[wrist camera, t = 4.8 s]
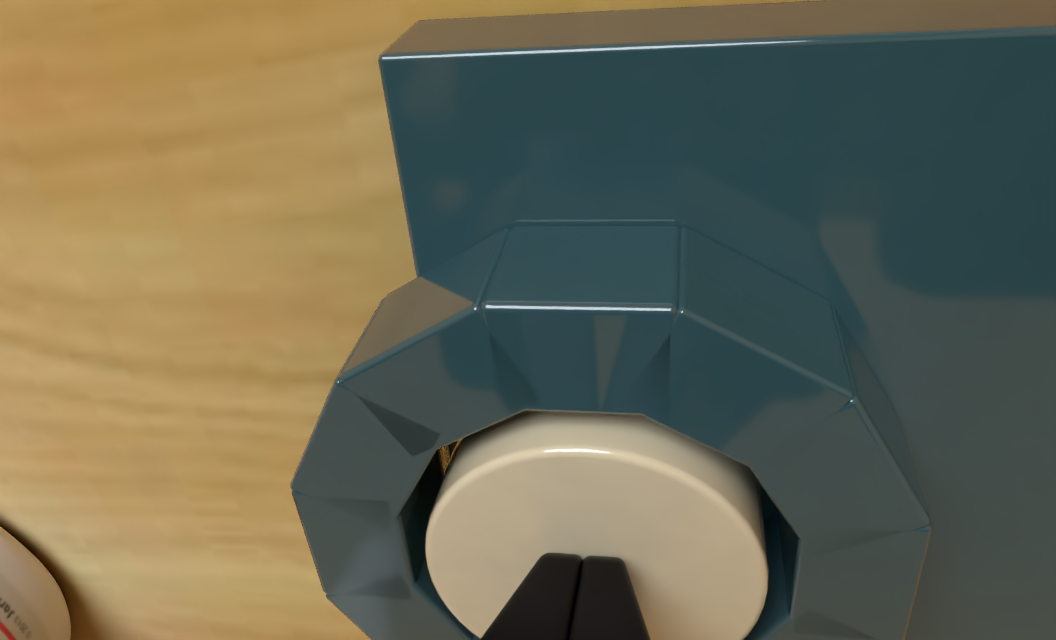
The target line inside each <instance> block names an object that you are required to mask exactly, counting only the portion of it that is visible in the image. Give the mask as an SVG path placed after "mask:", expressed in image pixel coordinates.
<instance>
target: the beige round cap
mask: <svg viewBox="0 0 1056 640" xmlns="http://www.w3.org/2000/svg"><path fill="white" fill-rule="evenodd" d="M550 552H551V553H564V554H576V555H579V556H580V557H581V558H582V559H583V560H584V559H585V557H587V556H591V555H592V556H606V557H618V558H621V559H622V560H623V561H624V563H625V565H626V567H627V570H628V573H629V576H630V579H631V582H632V585H633V588H634V591H635V594H636V597H637V600H638V603H639V606H640V609H641V612H642V615H643V618H644V621H645V624H646V627H647V630H648V633H649V636H650V639H651V640H744V638H745V637H746V636H747V635H748V634H749V633H750V631H751V630H752V628H753V627H754V625H755V624H756V622H757V621H758V619H759V617H760V614H761V612H762V610H763V607H764V605H765V603H766V598H767V593H768V588H769V568H768V557H767V547H766V536H765V526H764V515H763V505H762V494H761V484H760V483H759V481H758V480H757V478H756V477H755V475H754V474H753V472H752V471H751V470H750V468H749V467H748V466H746V465H744V464H742V463H739V462H737V461H735V460H733V459H731V458H729V457H727V456H725V455H723V454H721V453H719V452H717V451H715V450H712V449H710V448H708V447H706V446H704V445H702V444H700V443H698V442H696V441H694V440H692V439H690V438H688V437H686V436H683V435H681V434H679V433H677V432H675V431H673V430H671V429H669V428H667V427H665V426H663V425H661V424H659V423H657V422H654V421H652V420H650V419H648V418H646V417H644V416H642V415H625V414H599V413H574V412H548V411H523V412H521V413H519V414H516V415H514V416H512V417H510V418H507V419H505V420H503V421H501V422H498V423H496V424H494V425H491V426H489V427H487V428H485V429H482V430H480V431H478V432H476V433H473V434H471V435H469V436H467V437H464V438H462V439H460V440H458V441H456V444H455V447H454V449H453V452H452V455H451V458H450V461H449V464H448V466H447V469H446V472H445V475H444V478H443V481H442V483H441V486H440V489H439V492H438V495H437V498H436V500H435V503H434V506H433V509H432V512H431V515H430V517H429V521H428V525H427V529H426V535H425V553H426V560H427V567H428V570H429V573H430V576H431V580H432V582H433V584H434V586H435V588H436V590H437V592H438V594H439V596H440V598H441V599H442V601H443V602H444V604H445V605H446V606H447V608H448V609H449V610H450V612H451V613H452V614H453V615H454V616H455V617H456V618H457V619H458V621H459V622H460V623H462V624H463V625H464V626H465V627H466V628H467V629H468V630H469V631H470V632H471V633H473V634H474V635H475V636H477V637H478V638H479V639H481V637H482V636H483V635H484V633H485V632H486V630H487V629H488V628H489V626H490V625H491V624H492V622H493V621H494V619H495V618H496V617H497V615H498V614H499V613H500V611H501V610H502V609H503V607H504V606H505V604H506V603H507V602H508V600H509V599H510V598H511V596H512V595H513V593H514V592H515V591H516V589H517V588H518V587H519V585H520V584H521V582H522V581H523V580H524V578H525V577H526V576H527V574H528V573H529V571H530V570H531V569H532V567H533V566H534V565H535V563H536V562H537V561H538V559H539V558H540V557H541V556H542V555H543V554H545V553H550Z"/></svg>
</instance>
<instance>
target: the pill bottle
mask: <svg viewBox="0 0 1056 640" xmlns="http://www.w3.org/2000/svg"><path fill="white" fill-rule="evenodd" d="M70 637H71V623H70V616H69V612H68V608H67V605H66V602H65V599H64V596H63V594H62V592H61V590H60V588H59V586H58V584H57V583H56V581H55V580H54V578H53V577H52V575H51V574H50V573H49V571H48V570H47V569H46V568H45V567H44V566H43V564H42V563H41V562H40V561H39V560H38V559H37V558H36V557H35V556H34V555H33V554H32V553H31V552H30V551H29V550H28V549H27V548H26V547H25V546H23V545H22V544H21V543H20V542H19V541H18V540H16V539H15V538H14V537H13V536H12V535H10V534H9V533H8V532H6V531H5V530H4V529H3V528H1V527H0V640H70Z"/></svg>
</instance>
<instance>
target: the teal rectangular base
mask: <svg viewBox="0 0 1056 640" xmlns="http://www.w3.org/2000/svg"><path fill="white" fill-rule="evenodd" d="M378 62H379V68H380V73H381V79H382V84H383V90H384V96H385V101H386V107H387V112H388V118H389V124H390V129H391V135H392V140H393V146H394V152H395V157H396V163H397V168H398V174H399V180H400V185H401V191H402V196H403V202H404V208H405V213H406V219H407V224H408V230H409V236H410V241H411V247H412V252H413V258H414V264H415V269H416V275H417V278H416V279H414V280H412V281H411V282H409V283H407V284H405V285H403V286H402V287H400V288H398V289H396V290H395V291H393V292H391V293H389V294H388V295H387V296H386V297H385V298H384V299H382V301H381V302H380V304H379V306H378V308H377V309H376V311H375V313H374V314H373V316H372V318H371V319H370V321H369V323H368V325H367V326H366V328H365V330H364V331H363V333H362V335H361V336H360V338H359V340H358V342H357V343H356V345H355V347H354V348H353V350H352V352H351V353H350V355H349V357H348V359H347V360H346V362H345V364H344V365H343V367H342V369H341V370H340V372H339V374H338V375H337V377H336V379H335V381H334V383H333V385H332V388H331V390H330V392H329V395H328V397H327V399H326V402H325V404H324V406H323V409H322V411H321V413H320V416H319V418H318V420H317V423H316V425H315V427H314V430H313V432H312V434H311V437H310V439H309V441H308V444H307V446H306V448H305V451H304V453H303V455H302V458H301V460H300V462H299V465H298V467H297V469H296V472H295V474H294V476H293V479H292V481H291V489H292V495H293V498H294V501H295V505H296V508H297V511H298V514H299V517H300V520H301V523H302V526H303V529H304V532H305V535H306V539H307V542H308V545H309V548H310V551H311V554H312V557H313V560H314V563H315V566H316V569H317V573H318V576H319V579H320V582H321V585H322V588H323V591H324V592H325V593H326V597H327V599H328V600H330V601H331V602H332V603H333V604H334V605H335V606H336V607H337V608H338V609H339V610H340V611H341V612H342V613H343V614H344V615H346V616H347V617H348V618H349V619H350V620H351V621H352V622H353V623H354V624H355V625H356V626H357V627H358V628H359V629H361V630H362V631H363V632H364V633H365V634H366V635H367V636H368V637H369V638H370V639H371V640H480V639H479V638H478V637H477V636H475V635H474V634H473V633H471V632H470V631H469V630H468V629H467V628H466V627H465V626H464V625H463V624H462V623H460V622H459V621H458V619H457V618H456V617H455V616H454V615H453V614H452V613H451V612H450V610H449V609H448V608H447V606H446V605H445V604H444V602H443V601H442V599H441V598H440V596H439V594H438V592H437V590H436V588H435V586H434V584H433V582H432V580H431V576H430V573H429V570H428V567H427V560H426V553H425V535H426V529H427V525H428V521H429V517H430V515H431V512H432V509H433V506H434V503H435V500H436V498H437V495H438V492H439V489H440V486H441V483H442V481H443V478H444V471H443V465H442V460H441V455H440V449H439V448H442V447H444V446H446V445H447V448H448V454H449V459H450V458H451V455H452V452H453V449H454V447H455V444H456V441H458V440H460V439H462V438H464V437H467V436H469V435H471V434H473V433H476V432H478V431H480V430H482V429H485V428H487V427H489V426H491V425H494V424H496V423H498V422H501V421H503V420H505V419H507V418H510V417H512V416H514V415H516V414H519V413H521V412H523V411H548V412H574V413H599V414H625V415H642V416H644V417H646V418H648V419H650V420H652V421H654V422H657V423H659V424H661V425H663V426H665V427H667V428H669V429H671V430H673V431H675V432H677V433H679V434H681V435H683V436H686V437H688V438H690V439H692V440H694V441H696V442H698V443H700V444H702V445H704V446H706V447H708V448H710V449H712V450H715V451H717V452H719V453H721V454H723V455H725V456H727V457H729V458H731V459H733V460H735V461H737V462H739V463H742V464H744V465H746V466H748V467H749V468H750V470H751V471H752V472H753V474H754V475H755V477H756V478H757V480H758V481H759V483H760V484H761V494H762V505H763V515H764V526H765V536H766V547H767V557H768V568H769V588H768V593H767V598H766V603H765V605H764V607H763V610H762V612H761V614H760V617H759V619H758V621H757V622H756V624H755V625H754V627H753V628H752V630H751V631H750V633H749V634H748V635H747V636H746V637H745V638H744V640H1056V0H823V1H803V2H782V3H762V4H741V5H721V6H700V7H680V8H660V9H639V10H619V11H598V12H578V13H557V14H537V15H516V16H496V17H476V18H455V19H435V20H419V21H418V22H416V23H415V24H414V25H412V26H411V27H410V28H409V29H408V30H407V31H406V32H405V33H404V34H402V35H401V36H400V37H399V38H398V39H397V40H396V41H395V42H394V43H393V44H391V45H390V46H389V47H388V48H387V49H386V50H385V51H384V52H383V53H381V54H380V55H379V60H378Z"/></svg>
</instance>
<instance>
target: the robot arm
mask: <svg viewBox="0 0 1056 640" xmlns="http://www.w3.org/2000/svg"><path fill="white" fill-rule="evenodd" d="M480 640H651V639H650V636H649V633H648V630H647V627H646V624H645V621H644V618H643V615H642V612H641V609H640V606H639V603H638V600H637V597H636V594H635V591H634V588H633V585H632V582H631V579H630V576H629V573H628V570H627V567H626V565H625V563H624V561H623V560H622V559H621V558H618V557H606V556H592V555H591V556H587V557H585V559H584V560H583V559H582V558H581V557H580V556H579V555H576V554H564V553H551V552H550V553H545V554H543V555H542V556H541V557H540V558H539V559H538V561H537V562H536V563H535V565H534V566H533V567H532V569H531V570H530V571H529V573H528V574H527V576H526V577H525V578H524V580H523V581H522V582H521V584H520V585H519V587H518V588H517V589H516V591H515V592H514V593H513V595H512V596H511V598H510V599H509V600H508V602H507V603H506V604H505V606H504V607H503V609H502V610H501V611H500V613H499V614H498V615H497V617H496V618H495V619H494V621H493V622H492V624H491V625H490V626H489V628H488V629H487V630H486V632H485V633H484V635H483V636H482V637H481V639H480Z"/></svg>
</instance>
